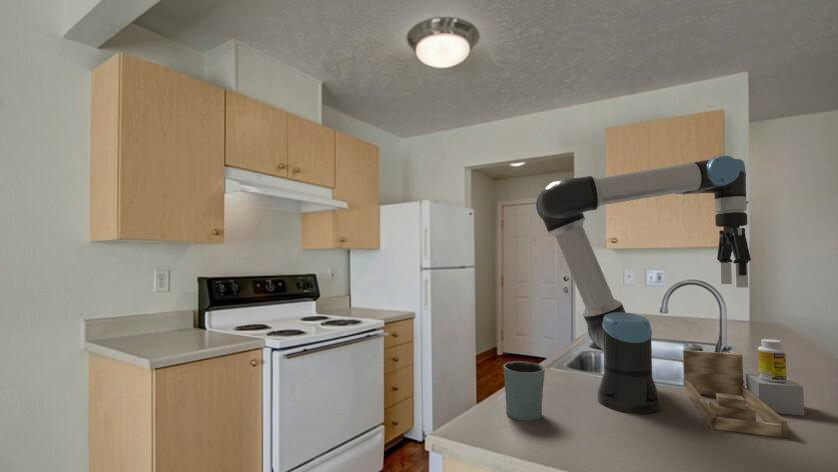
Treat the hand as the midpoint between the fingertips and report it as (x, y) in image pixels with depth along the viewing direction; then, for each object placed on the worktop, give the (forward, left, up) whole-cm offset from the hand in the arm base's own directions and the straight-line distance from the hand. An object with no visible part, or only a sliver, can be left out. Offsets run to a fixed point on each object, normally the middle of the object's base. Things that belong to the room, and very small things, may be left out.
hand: (733, 285), depth 122 cm
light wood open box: (-7, -18, -31) cm, 36 cm away
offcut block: (-9, -28, -26) cm, 39 cm away
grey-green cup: (-55, -38, -31) cm, 74 cm away
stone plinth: (+5, -10, -31) cm, 33 cm away
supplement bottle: (+5, -10, -24) cm, 26 cm away
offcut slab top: (-9, -28, -29) cm, 41 cm away
